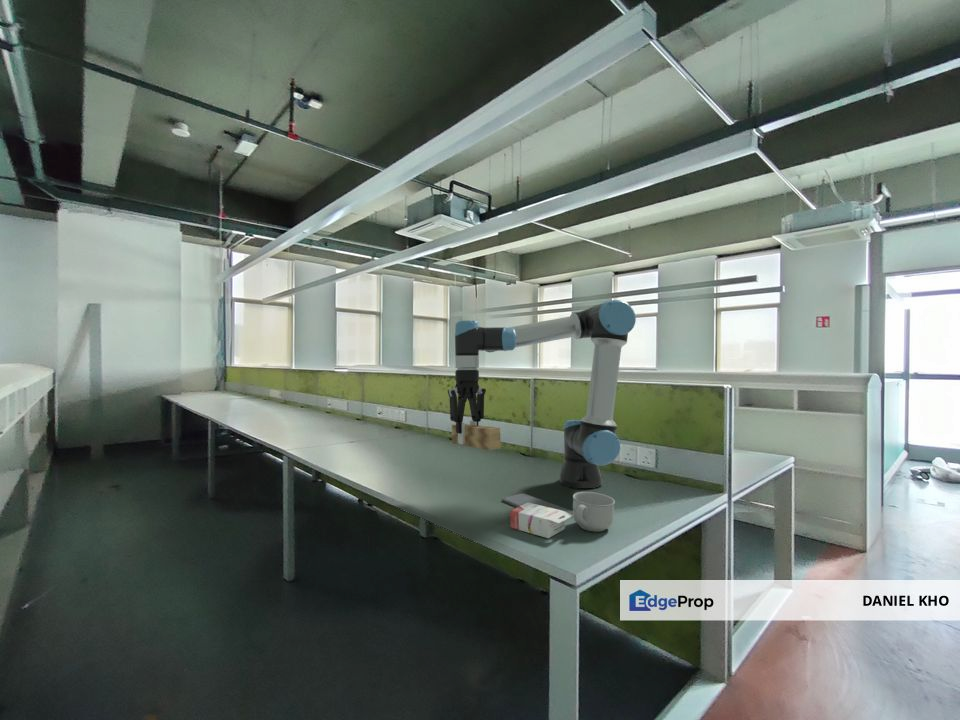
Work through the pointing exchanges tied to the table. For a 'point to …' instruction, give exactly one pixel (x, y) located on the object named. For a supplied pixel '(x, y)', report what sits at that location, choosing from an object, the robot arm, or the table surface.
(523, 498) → the tool mat
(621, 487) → the table surface
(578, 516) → the teacup
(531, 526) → the ink cartridge box
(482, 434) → the oak stick
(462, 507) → the table surface
